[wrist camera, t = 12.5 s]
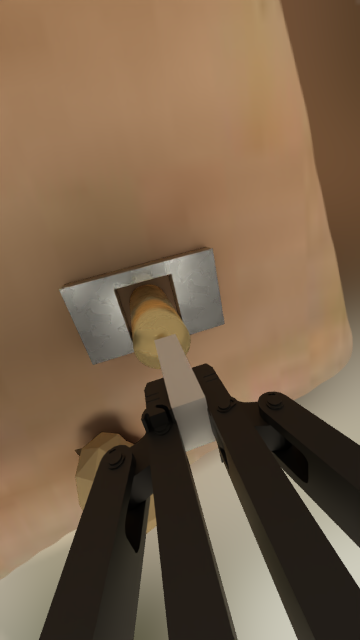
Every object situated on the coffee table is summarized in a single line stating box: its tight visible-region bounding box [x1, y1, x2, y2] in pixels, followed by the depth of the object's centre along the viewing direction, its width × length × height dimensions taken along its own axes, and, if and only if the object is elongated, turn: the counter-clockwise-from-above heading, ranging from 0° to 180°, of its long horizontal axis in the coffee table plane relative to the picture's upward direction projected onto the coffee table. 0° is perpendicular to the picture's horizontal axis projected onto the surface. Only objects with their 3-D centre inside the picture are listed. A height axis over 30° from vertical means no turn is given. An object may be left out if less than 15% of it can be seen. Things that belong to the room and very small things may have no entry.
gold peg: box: [130, 284, 190, 369], centre depth 23 cm, size 4×4×11 cm
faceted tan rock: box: [75, 432, 157, 534], centre depth 30 cm, size 15×11×12 cm
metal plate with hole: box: [59, 247, 225, 365], centre depth 27 cm, size 16×9×2 cm, turn 103°
